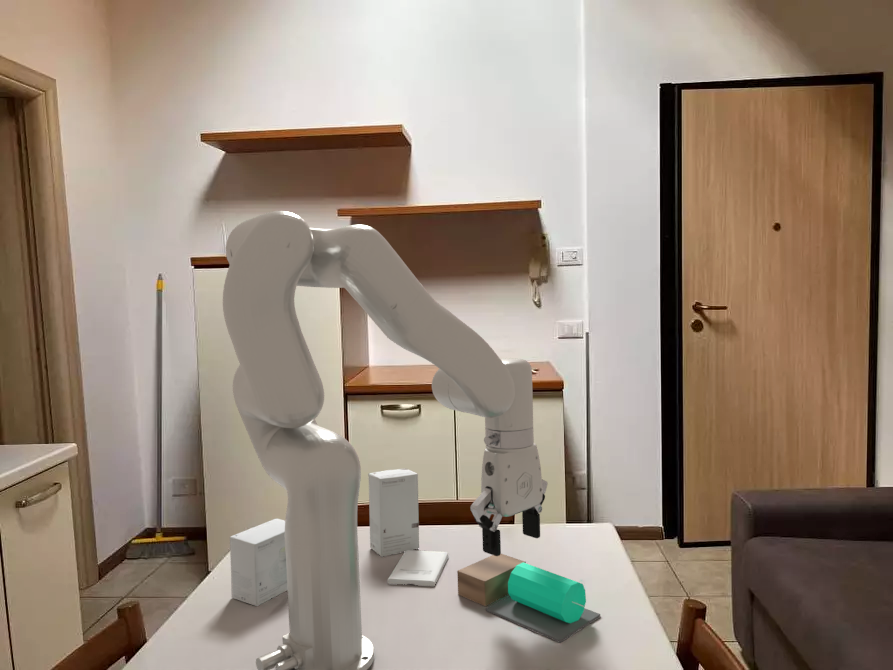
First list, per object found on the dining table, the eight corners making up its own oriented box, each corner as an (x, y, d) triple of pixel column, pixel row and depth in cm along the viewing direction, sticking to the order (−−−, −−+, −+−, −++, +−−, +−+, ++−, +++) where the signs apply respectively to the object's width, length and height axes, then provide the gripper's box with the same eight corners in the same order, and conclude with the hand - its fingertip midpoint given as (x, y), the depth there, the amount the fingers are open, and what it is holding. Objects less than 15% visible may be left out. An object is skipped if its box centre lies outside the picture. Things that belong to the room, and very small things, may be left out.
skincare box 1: (258, 607, 109) (254, 543, 108) (230, 598, 112) (227, 536, 112) (304, 582, 118) (302, 522, 117) (278, 575, 121) (275, 517, 120)
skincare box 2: (381, 558, 127) (377, 479, 126) (369, 547, 132) (365, 472, 131) (421, 548, 131) (419, 472, 130) (408, 539, 136) (405, 465, 135)
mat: (560, 642, 95) (560, 639, 95) (485, 610, 105) (485, 608, 105) (600, 616, 102) (600, 614, 102) (527, 589, 112) (527, 586, 112)
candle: (510, 563, 106) (574, 586, 97) (535, 561, 110) (598, 583, 101) (505, 602, 105) (568, 629, 96) (529, 599, 109) (592, 625, 100)
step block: (485, 606, 107) (484, 581, 106) (458, 594, 111) (457, 570, 111) (526, 585, 114) (525, 561, 113) (499, 575, 118) (498, 552, 118)
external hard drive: (448, 560, 127) (434, 589, 114) (405, 558, 128) (387, 587, 116) (448, 551, 126) (434, 580, 114) (405, 549, 128) (387, 577, 116)
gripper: (490, 452, 99) (493, 568, 100) (562, 431, 111) (564, 535, 112) (453, 444, 104) (456, 554, 105) (525, 425, 116) (528, 524, 117)
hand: (512, 544), depth 108 cm, fingers open, 9 cm apart
